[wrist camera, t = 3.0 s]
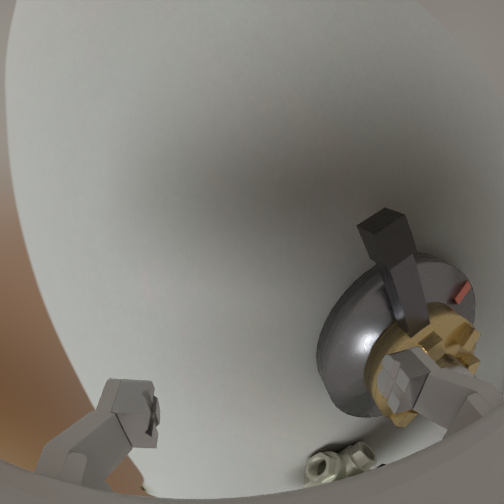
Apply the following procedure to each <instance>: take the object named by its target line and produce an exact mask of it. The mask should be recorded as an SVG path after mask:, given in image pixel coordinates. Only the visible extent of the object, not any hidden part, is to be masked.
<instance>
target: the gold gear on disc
mask: <svg viewBox="0 0 504 504" xmlns="http://www.w3.org/2000/svg"><path fill="white" fill-rule="evenodd" d="M413 255H414V259H415V262H416V266H417V269H418V273H419V277H420V281H421V285H422V288H423V293H424V297H425V301H426V303H429V302H441V303H444V304H446V305H448V306H449V307H450V308H452V309H453V310H454V311H456V312H457V313H458V314H460V315H461V316H462V317H464V318H465V319H466V320H468V321H469V322H470V323H471V324H472V325H473V321H474V315H475V297H474V292H473V288H472V286H471V283H470V281H469V280H468V278H467V277H466V276H465V275H464V274H463V273H462V272H461V271H460V270H458V269H456V268H454V267H453V266H451V265H449V264H447V263H445V262H443V261H442V260H440V259H438V258H436V257H434V256H432V255H429V254H425V253H413ZM395 321H396V317H395V314H394V311H393V308H392V305H391V302H390V299H389V296H388V294H387V291H386V288H385V285H384V282H383V280H382V277H381V274H380V271H379V269H378V266H377V265H376V266H374V267H373V268H372V269H370V270H369V271H367V272H366V273H364V274H363V275H362V276H361V277H360V278H359V279H357V280H356V281H355V282H354V283H353V284H352V285H351V286H350V287H349V288H348V289H347V290H346V291H345V293H344V294H343V295H342V296H341V298H340V299H339V300H338V301H337V303H336V304H335V306H334V307H333V309H332V310H331V312H330V314H329V316H328V318H327V319H326V321H325V323H324V326H323V328H322V331H321V333H320V337H319V341H318V345H317V353H316V358H317V367H318V372H319V374H320V376H321V379H322V381H323V383H324V385H325V387H326V389H327V391H328V393H329V395H330V398H331V400H332V401H333V403H334V404H335V405H336V407H337V408H339V409H340V410H341V411H343V412H344V413H346V414H349V415H352V416H355V417H378V416H383V414H382V413H381V411H380V409H379V408H378V406H377V405H376V403H375V401H374V400H373V398H372V397H371V395H370V393H369V392H368V390H367V389H366V387H365V384H364V379H363V375H364V368H365V364H366V361H367V359H368V356H369V354H370V352H371V350H372V349H373V347H374V345H375V344H376V342H377V341H378V339H379V338H380V337H381V336H382V334H383V333H384V332H385V331H386V330H387V329H388V328H389V327H390V325H392V324H393V323H394V322H395ZM435 362H436V364H437V365H438V366H439V367H440V368H441V369H442V368H447V369H449V370H452V371H455V372H458V373H461V374H464V375H467V376H470V377H473V378H476V377H475V376H474V375H473V374H472V373H471V372H470V371H469V370H468V369H467V368H466V367H465V366H464V365H463V364H462V363H461V362H459V361H458V360H457V359H456V358H455V357H454V356H453V355H452V354H444V355H443V356H442V357H440V358H439V359H438V360H437V361H435Z"/></svg>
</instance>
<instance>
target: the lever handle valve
mask: <svg viewBox="0 0 504 504" xmlns="http://www.w3.org/2000/svg"><path fill="white" fill-rule="evenodd" d="M357 228H358V230H359V233H360V235H361V237H362V240H363V242H364V244H365V247H366V249H367V252H368V254H369V257H370V259H372V260H373V261H375V262H376V264H377V266H378V269H379V271H380V274H381V277H382V280H383V282H384V285H385V288H386V291H387V294H388V296H389V299H390V302H391V305H392V308H393V311H394V314H395V317H396V321H395V322H394V323H393V324H392V325H390V327H389V328H388V329H387V330H386V331H385V332H384V333H383V334H382V336H381V337H380V338H379V339H378V341H377V342H376V344H375V345H374V347H373V349H372V350H371V352H370V354H369V356H368V359H367V361H366V364H365V368H364V375H363V379H364V384H365V387H366V389H367V390H368V392H369V393H370V395H371V397H372V398H373V400H374V401H375V403H376V405H377V406H378V408H379V409H380V411H381V413H382V414H383V415H384V416H385V417H387V418H390V419H391V420H392V421H393V423H394V424H395V426H396V427H406V426H407V425H408V424H409V423H410V422H411V421H412V420H413V419H414V418H415V417H416V416H417V415H418V414H419V413H418V412H416V411H414V410H413V409H410V410H407V411H404V412H401V413H398V414H394V413H393V411H392V410H391V408H390V407H389V405H388V404H387V401H388V398H386V397H384V396H382V395H381V393H380V392H379V389H378V387H377V377H378V373H379V372H380V371H381V369H382V368H383V366H382V364H381V363H382V360H383V358H384V356H385V355H387V354H391V353H395V352H399V351H403V350H407V349H409V348H413V347H416V346H418V347H421V348H422V349H423V350H424V351H425V352H426V353H427V354H428V355H429V356H430V357H431V358H432V359H433V360H434V361H437V360H438V359H439V358H440V357H442V356H443V355H444V354H452V355H453V356H454V357H455V358H456V359H457V360H458V361H459V362H461V363H462V364H463V365H464V366H465V367H466V368H467V369H468V370H469V371H470V372H471V373H472V374H475V372H476V370H477V368H478V365H479V363H480V360H479V359H478V358H476V357H475V356H474V355H473V353H474V350H475V345H476V341H477V340H478V338H479V337H480V335H481V334H480V333H479V332H478V331H476V330H475V328H474V327H473V325H472V324H471V323H470V322H469V321H468V320H466V319H465V318H464V317H462V316H461V315H460V314H458V313H457V312H456V311H454V310H453V309H452V308H450V307H449V306H448V305H446V304H444V303H441V302H429V303H426V301H425V297H424V293H423V288H422V285H421V281H420V277H419V273H418V269H417V266H416V262H415V259H414V255H413V253H414V252H416V251H417V250H416V247H415V243H414V240H413V237H412V234H411V231H410V228H409V224H408V221H407V219H406V216H405V214H402V213H399V212H396V211H393V210H390V209H387V208H383V209H382V210H380V211H379V212H377V213H376V214H374V215H373V216H371V217H369V218H368V219H366V220H365V221H363V222H361V223H360V224H358V225H357Z"/></svg>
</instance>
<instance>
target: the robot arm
mask: <svg viewBox="0 0 504 504" xmlns="http://www.w3.org/2000/svg"><path fill="white" fill-rule="evenodd" d="M381 364H382V366H383V368H382V369H381V371H380V372H379V373H378V377H377V387H378V389H379V392H380V393H381V395H382V396H384V397H386V398H388V401H387V404H388V405H389V407H390V408H391V410H392V411H393V413H394V414H398V413H401V412H404V411H407V410H410V409H413V410H414V411H416V412H418V413H420V414H421V415H423V416H425V417H426V418H428V419H430V420H432V421H433V422H435V423H437V424H439V425H441V426H442V427H444V428H446V429H448V431H447V432H446V434H445V435H444V437H443V439H442V440H441V441H439V442H437V443H435V444H433V445H431V446H429V447H427V448H425V449H423V450H421V451H418V452H416V453H414V454H412V455H409V456H407V457H405V458H402V459H400V460H397V461H395V462H392V463H390V464H387V465H384V466H381V467H379V468H376V469H373V470H370V471H367V472H364V473H361V474H358V475H354V476H351V477H348V478H344V479H341V480H337V481H333V482H329V483H325V484H321V485H317V486H312V487H308V488H303V489H298V490H292V491H287V492H281V493H274V494H267V495H259V496H250V497H238V498H222V499H172V498H155V497H145V496H136V495H128V494H120V493H115V492H114V491H113V490H112V489H111V487H110V486H109V485H108V484H107V483H106V481H105V479H106V478H107V477H108V475H109V474H110V473H111V472H112V471H113V470H114V469H115V468H116V467H117V465H118V464H119V463H120V462H121V461H122V460H123V459H124V458H125V456H126V455H127V454H128V453H129V452H130V451H131V450H132V447H136V448H157V439H158V431H157V429H156V426H157V425H158V424H159V423H160V407H159V402H158V399H157V398H156V397H155V396H154V390H155V389H154V386H153V382H152V381H146V380H128V379H123V380H122V379H111V378H110V379H108V380H107V382H106V384H105V387H104V390H103V392H102V395H101V398H100V400H99V403H98V406H97V409H96V411H91V412H90V413H88V414H87V415H86V416H84V417H83V418H82V419H80V420H79V421H77V422H76V423H74V424H73V425H72V426H70V427H69V428H68V429H66V430H65V431H64V432H62V433H61V434H60V435H58V436H56V437H55V438H53V439H52V440H51V441H50V442H48V443H47V444H45V446H44V449H43V451H42V454H41V456H40V459H39V461H38V464H37V467H36V469H35V472H32V471H29V470H26V469H24V468H21V467H18V466H16V465H13V464H11V463H9V462H6V461H4V460H2V459H0V504H504V397H503V396H502V395H501V394H500V393H499V392H498V391H497V390H496V389H495V388H494V387H493V386H492V385H491V384H490V383H488V382H485V381H482V380H479V379H476V378H473V377H470V376H467V375H464V374H461V373H458V372H455V371H452V370H449V369H447V368H442V369H441V368H440V367H439V366H438V365H437V364H436V362H435V361H434V360H433V359H432V358H431V357H430V356H429V355H428V354H427V353H426V352H425V351H424V350H423V349H422V348H421V347H418V346H416V347H413V348H409V349H407V350H403V351H399V352H395V353H391V354H387V355H385V356H384V358H383V360H382V363H381Z"/></svg>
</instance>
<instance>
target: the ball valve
mask: <svg viewBox="0 0 504 504" xmlns="http://www.w3.org/2000/svg"><path fill="white" fill-rule="evenodd" d="M376 461H377V459H376V455H375V453H374V452H373V450H372V449H371V448H370V447H369V446H368V445H367V444H366V443H364V442H357V443H356V444H355V445H349V446H348V447H346V448H345V449H344V450H342V451H341V452H339V453H334V452H330V451H327V452H323V453H322V452H319V453H318V454H316V455H314V456H313V457H311V458H310V459H309V460H308V462H307V465H306V472H305V474H306V475H307V476H305V479H304V482H303V485H304V488H308V487H312V486H317V485H321V484H325V483H329V482H333V481H337V480H341V479H344V478H348V477H351V476H354V475H358V474H361V473H364V472H367V471H369V470H370V467H372V466H373V465H375V464H376ZM384 465H386V464H381V465H380V466H378V467H377V468H379V467H381V466H384Z"/></svg>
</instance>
